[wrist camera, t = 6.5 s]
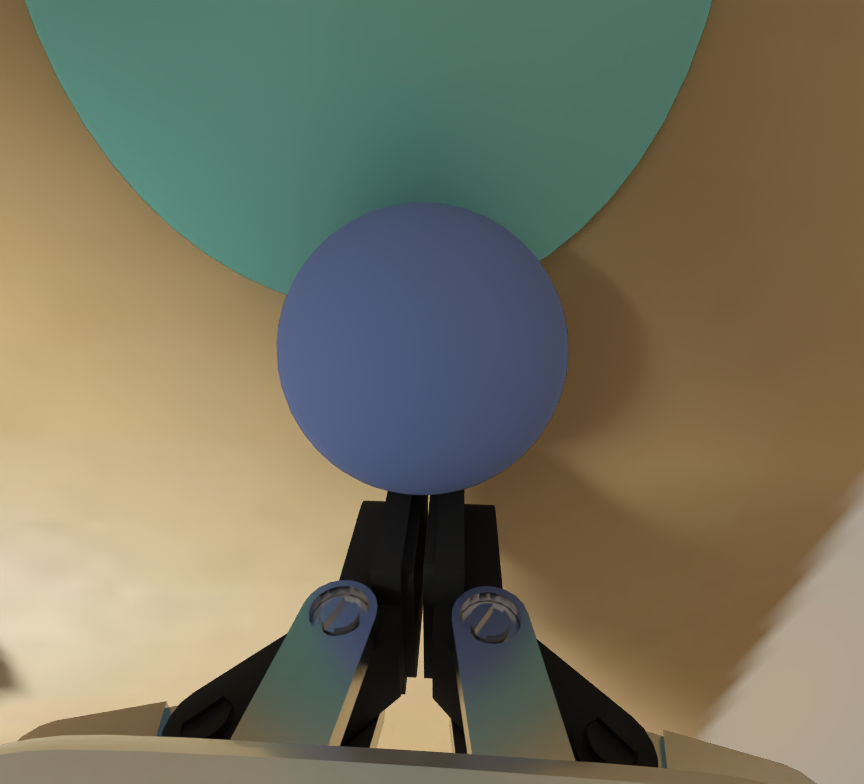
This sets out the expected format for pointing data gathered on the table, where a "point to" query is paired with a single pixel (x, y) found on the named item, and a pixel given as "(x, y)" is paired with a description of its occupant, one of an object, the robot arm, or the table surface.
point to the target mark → (368, 110)
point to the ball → (422, 348)
